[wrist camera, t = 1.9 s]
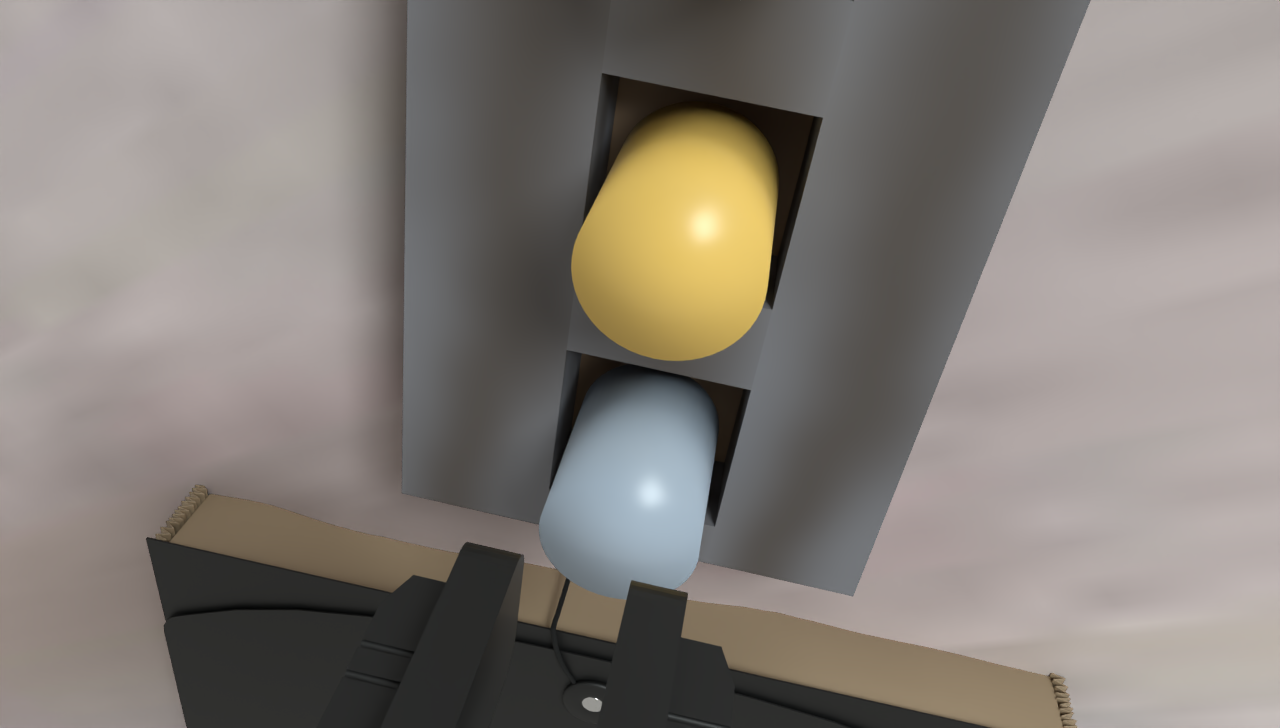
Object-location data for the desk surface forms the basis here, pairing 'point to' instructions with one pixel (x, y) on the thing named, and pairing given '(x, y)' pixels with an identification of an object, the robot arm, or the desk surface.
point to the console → (801, 251)
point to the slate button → (633, 483)
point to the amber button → (680, 234)
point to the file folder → (520, 639)
